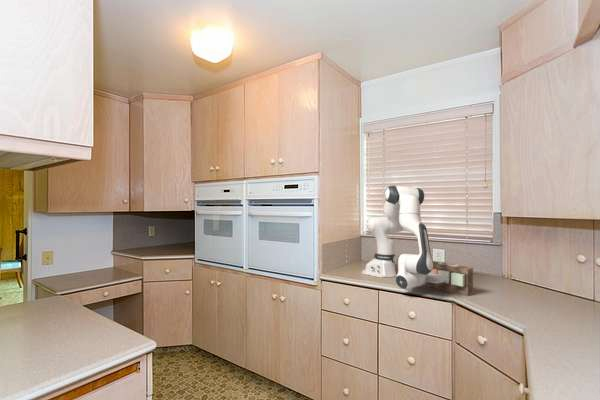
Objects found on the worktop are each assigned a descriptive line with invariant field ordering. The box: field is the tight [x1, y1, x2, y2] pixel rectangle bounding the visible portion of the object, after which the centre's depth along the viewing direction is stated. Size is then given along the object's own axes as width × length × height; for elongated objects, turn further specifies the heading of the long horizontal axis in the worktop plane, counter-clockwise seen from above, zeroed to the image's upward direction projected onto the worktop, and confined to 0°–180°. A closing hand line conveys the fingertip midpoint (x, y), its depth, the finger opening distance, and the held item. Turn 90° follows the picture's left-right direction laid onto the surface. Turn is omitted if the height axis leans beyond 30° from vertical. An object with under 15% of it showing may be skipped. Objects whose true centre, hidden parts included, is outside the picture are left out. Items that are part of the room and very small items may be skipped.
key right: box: [451, 272, 466, 287], centre depth 166 cm, size 6×4×6 cm
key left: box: [431, 268, 441, 274], centre depth 179 cm, size 6×4×6 cm
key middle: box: [438, 269, 452, 283], centre depth 172 cm, size 6×4×6 cm
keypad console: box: [424, 260, 474, 297], centre depth 174 cm, size 24×6×15 cm, turn 37°
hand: (431, 273), depth 178 cm, fingers closed, pressing on key left
